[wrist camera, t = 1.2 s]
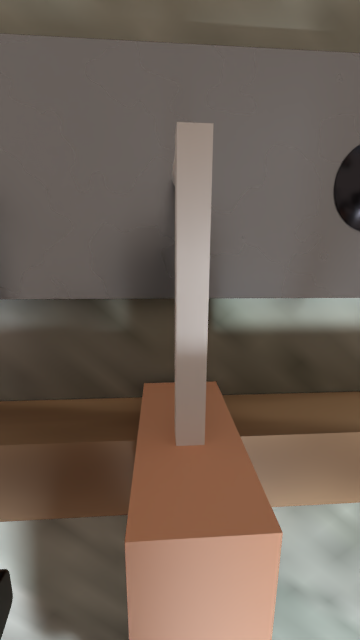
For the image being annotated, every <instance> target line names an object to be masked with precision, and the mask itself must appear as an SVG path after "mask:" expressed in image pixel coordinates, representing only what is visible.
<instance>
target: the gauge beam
mask: <svg viewBox="0 0 360 640" xmlns="http://www.w3.org/2000/svg"><path fill="white" fill-rule="evenodd" d="M222 396H223V399H224V401H225V403H226V405H227V408H228V410H229V412H230V415H231V417H232V419H233V421H234V424H235V426H236V428H237V430H238V433H239V435H240V437H241V439H242V442H243V444H244V446H245V449H246V451H247V453H248V455H249V458H250V460H251V462H252V464H253V467H254V469H255V471H256V474H257V476H258V478H259V480H260V483H261V485H262V487H263V489H264V492H265V494H266V496H267V499H268V501H269V503H270V505H271V507H283V506H301V505H320V504H338V503H357V502H360V391H359V392H322V393H285V394H249V395H222ZM141 404H142V397H138V398H102V399H65V400H28V401H0V522H5V521H23V520H42V519H60V518H79V517H97V516H116V515H128V510H129V502H130V494H131V486H132V478H133V470H134V461H135V453H136V445H137V437H138V429H139V421H140V413H141Z"/></svg>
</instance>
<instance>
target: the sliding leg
mask: <svg viewBox="0 0 360 640" xmlns="http://www.w3.org/2000/svg"><path fill="white" fill-rule="evenodd" d="M212 159H213V123H190V122H177V126H176V134H175V157H174V164H173V170H172V181H173V184H174V186H175V382H172V383H144V388H143V396H142V404H141V413H140V421H139V429H138V437H137V445H136V453H135V461H134V470H133V478H132V486H131V494H130V502H129V510H128V518H127V527H126V535H125V563H126V585H127V607H128V629H129V640H272V631H273V621H274V611H275V602H276V592H277V582H278V573H279V563H280V553H281V544H282V534H283V533H282V530H281V528H280V526H279V524H278V521H277V519H276V517H275V514H274V512H273V510H272V508H271V505H270V503H269V501H268V499H267V496H266V494H265V492H264V489H263V487H262V485H261V483H260V480H259V478H258V476H257V474H256V471H255V469H254V467H253V464H252V462H251V460H250V458H249V455H248V453H247V451H246V449H245V446H244V444H243V442H242V439H241V437H240V435H239V433H238V430H237V428H236V426H235V424H234V421H233V419H232V417H231V415H230V412H229V410H228V408H227V405H226V403H225V401H224V399H223V396H222V394H221V392H220V390H219V387H218V385H217V383H216V381H214V382H206V376H207V340H208V304H209V268H210V232H211V195H212Z"/></svg>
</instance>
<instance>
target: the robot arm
mask: <svg viewBox="0 0 360 640" xmlns="http://www.w3.org/2000/svg"><path fill="white" fill-rule="evenodd" d="M12 599H13V593H12V587H11V580H10V574H9V571H8V570H7V569H0V640H1V637H2V634H3V631H4V628H5V624H6V621H7V618H8V615H9V612H10V608H11V604H12Z"/></svg>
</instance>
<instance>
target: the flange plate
mask: <svg viewBox="0 0 360 640" xmlns="http://www.w3.org/2000/svg"><path fill="white" fill-rule="evenodd" d="M177 122H190V123H213V159H212V195H211V232H210V268H209V298H360V53H348V52H330V51H311V50H293V49H275V48H256V47H238V46H220V45H201V44H183V43H164V42H146V41H128V40H109V39H91V38H73V37H54V36H36V35H18V34H0V299H155V298H175V186H174V184H173V181H172V170H173V164H174V157H175V134H176V126H177Z"/></svg>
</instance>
